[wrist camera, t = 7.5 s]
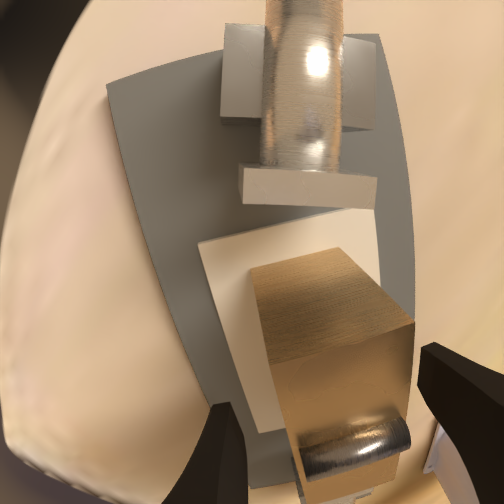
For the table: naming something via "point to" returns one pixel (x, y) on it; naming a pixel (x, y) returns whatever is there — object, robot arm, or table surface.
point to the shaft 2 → (340, 503)
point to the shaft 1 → (300, 103)
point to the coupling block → (337, 370)
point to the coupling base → (247, 230)
